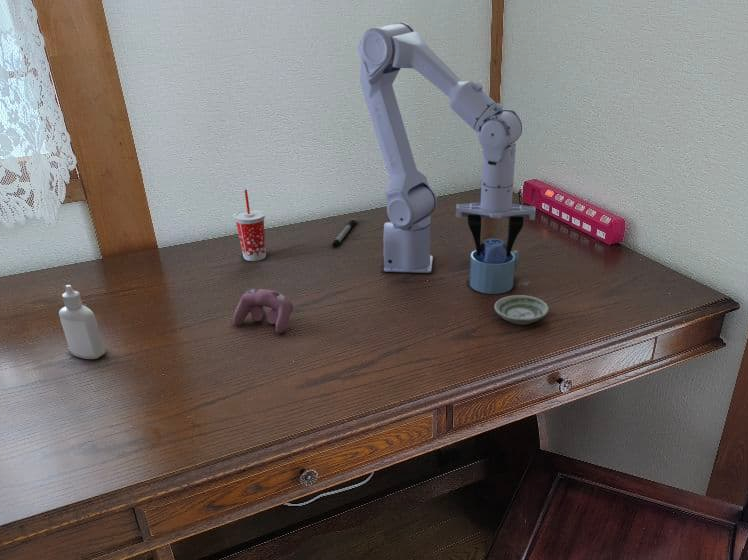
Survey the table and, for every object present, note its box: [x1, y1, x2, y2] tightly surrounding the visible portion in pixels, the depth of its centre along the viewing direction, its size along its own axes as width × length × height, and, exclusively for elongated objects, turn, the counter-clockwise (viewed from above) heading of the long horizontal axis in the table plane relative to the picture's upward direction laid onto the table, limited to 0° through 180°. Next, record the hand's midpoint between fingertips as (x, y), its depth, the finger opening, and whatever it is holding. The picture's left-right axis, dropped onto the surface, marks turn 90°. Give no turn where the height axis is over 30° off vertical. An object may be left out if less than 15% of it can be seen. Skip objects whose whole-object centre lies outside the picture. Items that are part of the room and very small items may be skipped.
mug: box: [469, 249, 520, 295], centre depth 142 cm, size 11×8×6 cm
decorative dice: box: [480, 238, 507, 264], centre depth 139 cm, size 4×4×4 cm
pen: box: [332, 217, 357, 248], centre depth 163 cm, size 1×16×1 cm, turn 170°
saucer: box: [493, 294, 550, 326], centre depth 131 cm, size 10×10×2 cm
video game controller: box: [232, 288, 294, 335], centre depth 127 cm, size 10×5×7 cm, turn 71°
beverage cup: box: [233, 189, 267, 262], centre depth 148 cm, size 6×6×14 cm
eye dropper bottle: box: [58, 284, 106, 360], centre depth 115 cm, size 4×6×12 cm
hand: (492, 254), depth 140 cm, fingers closed on decorative dice, 5 cm apart
